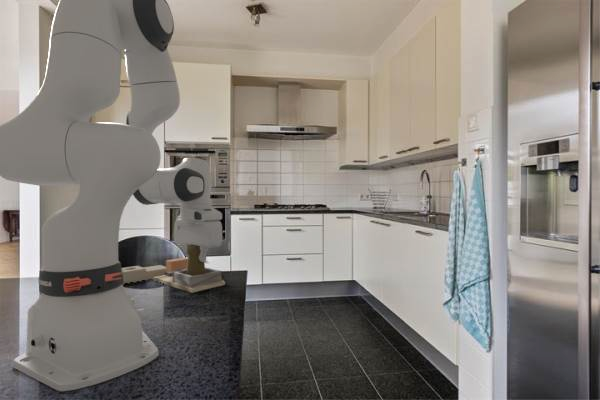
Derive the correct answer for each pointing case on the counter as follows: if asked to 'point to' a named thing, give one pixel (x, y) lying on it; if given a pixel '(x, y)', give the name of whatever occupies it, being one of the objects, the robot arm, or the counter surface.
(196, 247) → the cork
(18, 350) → the counter surface
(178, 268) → the block
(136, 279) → the electrical outlet
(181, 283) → the rail panel
